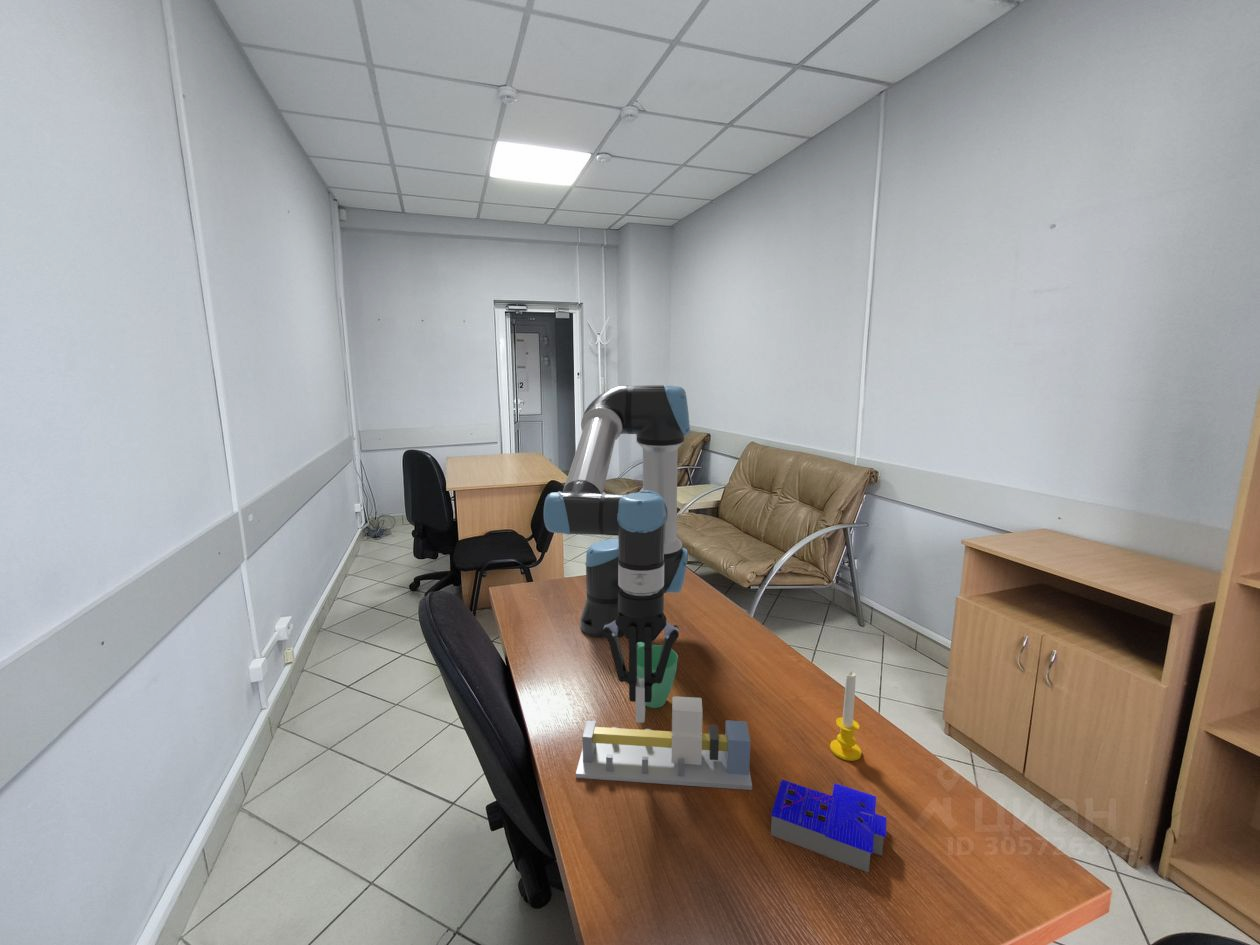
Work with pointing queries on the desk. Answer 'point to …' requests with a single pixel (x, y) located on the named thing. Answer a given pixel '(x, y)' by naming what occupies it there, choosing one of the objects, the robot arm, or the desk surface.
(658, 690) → the mug
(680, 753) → the sleeve
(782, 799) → the house
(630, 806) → the desk surface
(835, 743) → the candle
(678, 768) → the comb rig
